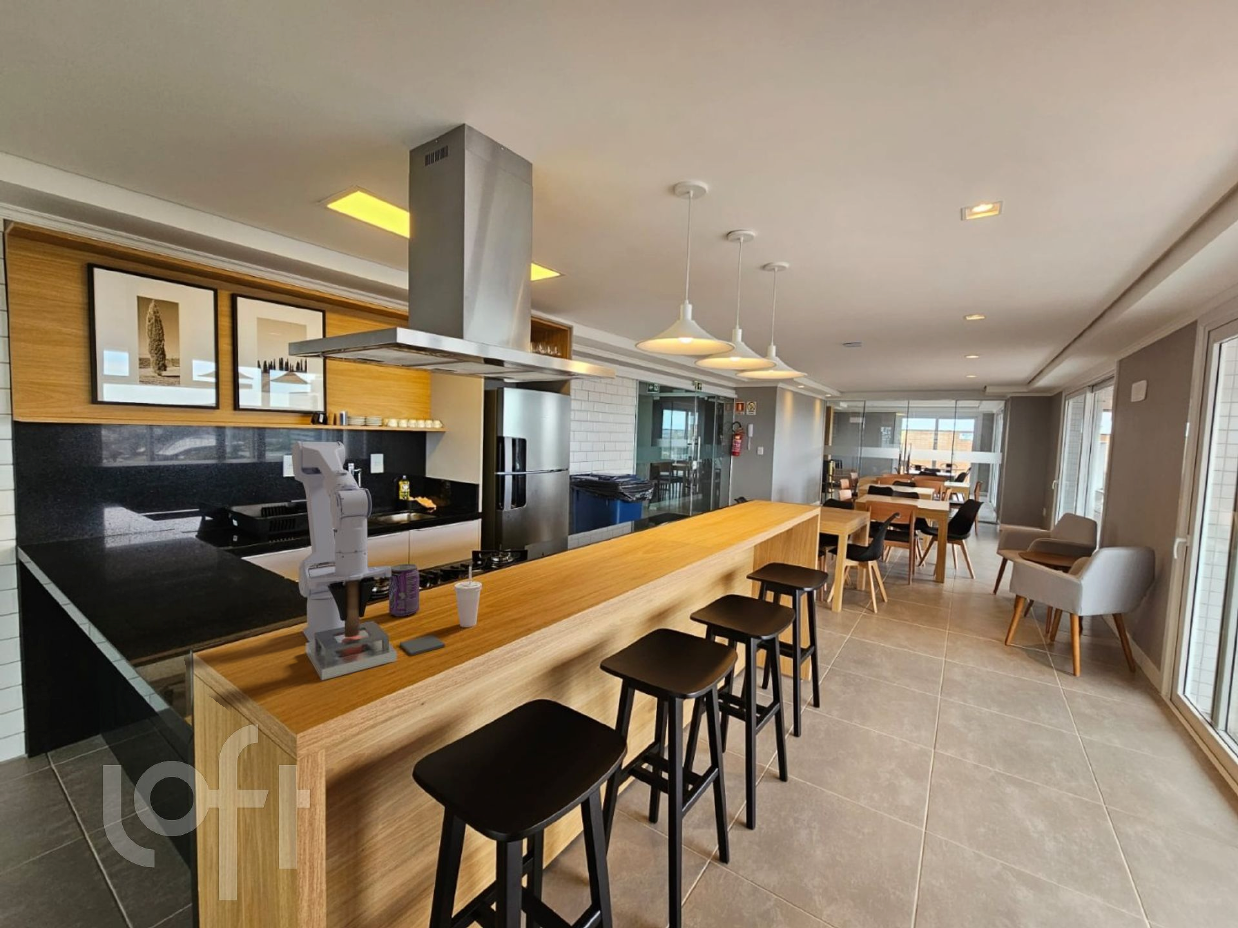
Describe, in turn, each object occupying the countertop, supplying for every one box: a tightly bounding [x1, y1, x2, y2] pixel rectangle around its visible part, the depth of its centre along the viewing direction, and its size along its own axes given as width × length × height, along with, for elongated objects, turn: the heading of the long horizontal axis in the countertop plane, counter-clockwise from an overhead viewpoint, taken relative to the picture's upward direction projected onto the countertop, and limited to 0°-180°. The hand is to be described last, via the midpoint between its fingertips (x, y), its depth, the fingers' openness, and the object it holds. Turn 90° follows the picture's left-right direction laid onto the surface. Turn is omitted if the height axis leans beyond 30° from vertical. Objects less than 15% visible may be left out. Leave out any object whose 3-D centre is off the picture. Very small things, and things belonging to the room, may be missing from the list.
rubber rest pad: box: [399, 634, 446, 657], centre depth 106 cm, size 7×7×1 cm
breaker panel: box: [305, 620, 398, 681], centre depth 100 cm, size 16×13×5 cm
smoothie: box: [453, 566, 483, 628], centre depth 119 cm, size 6×6×14 cm
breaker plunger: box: [342, 636, 363, 656], centre depth 99 cm, size 4×4×2 cm
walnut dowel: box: [344, 580, 360, 637], centre depth 99 cm, size 3×3×11 cm
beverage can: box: [388, 563, 420, 617], centre depth 126 cm, size 7×7×12 cm
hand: (352, 617), depth 99 cm, fingers closed on walnut dowel, 3 cm apart
